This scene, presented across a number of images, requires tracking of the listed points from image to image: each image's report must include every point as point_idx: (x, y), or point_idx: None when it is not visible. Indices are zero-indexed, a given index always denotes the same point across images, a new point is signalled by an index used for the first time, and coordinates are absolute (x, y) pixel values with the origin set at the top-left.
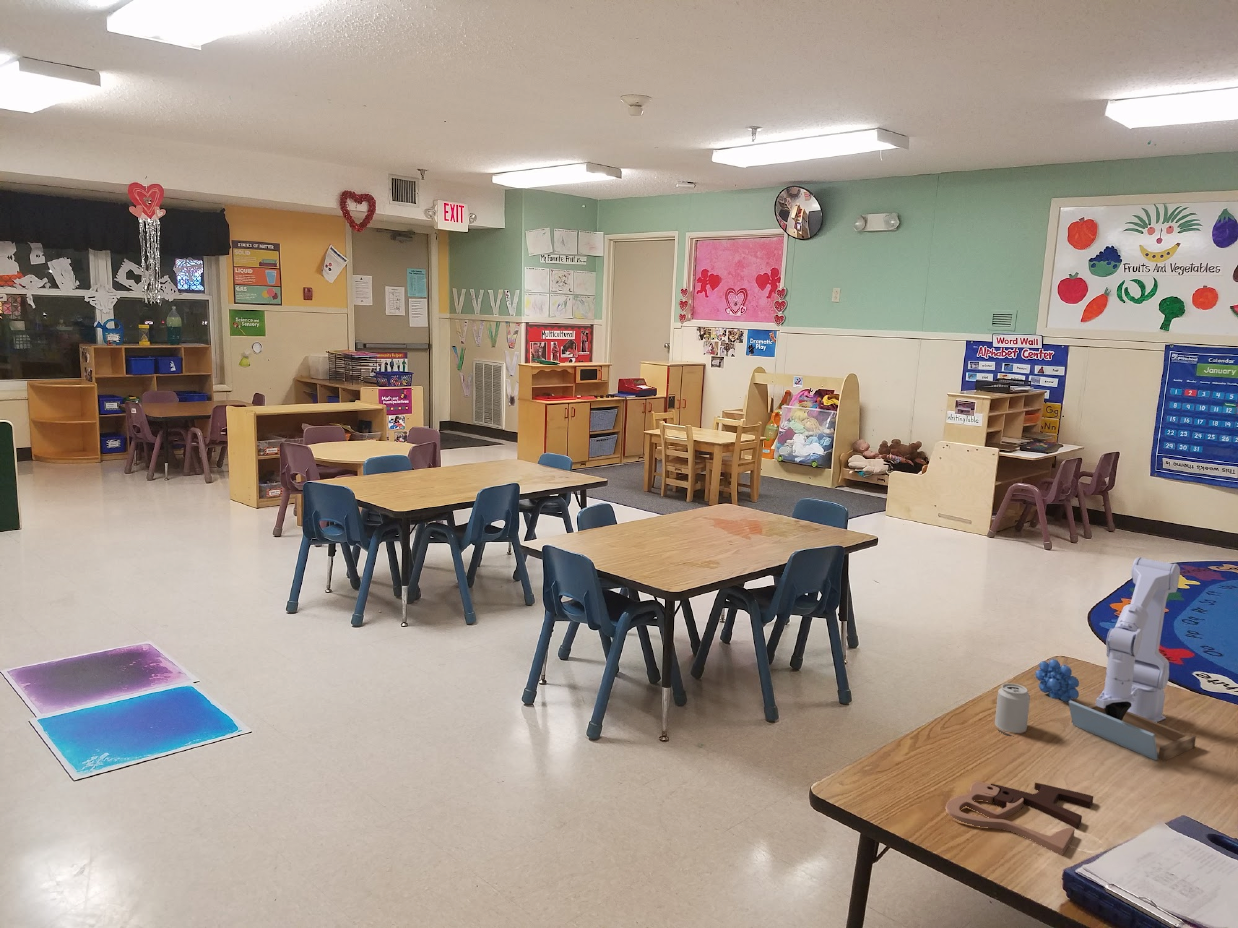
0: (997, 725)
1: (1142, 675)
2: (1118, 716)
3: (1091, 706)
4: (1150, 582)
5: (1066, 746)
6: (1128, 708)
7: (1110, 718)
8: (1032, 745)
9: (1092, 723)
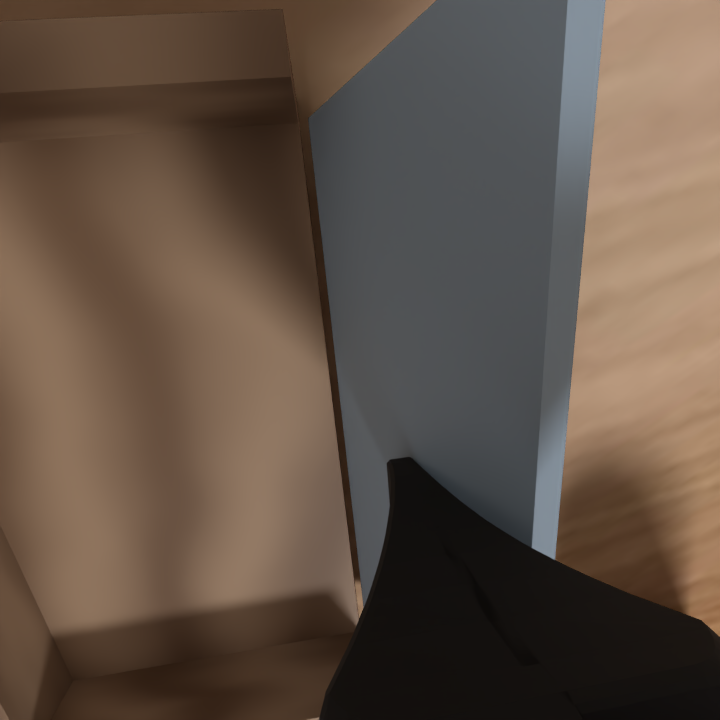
0: None
1: None
2: (520, 545)
3: None
4: None
5: (562, 496)
6: (393, 650)
7: (549, 555)
8: (678, 547)
9: None
